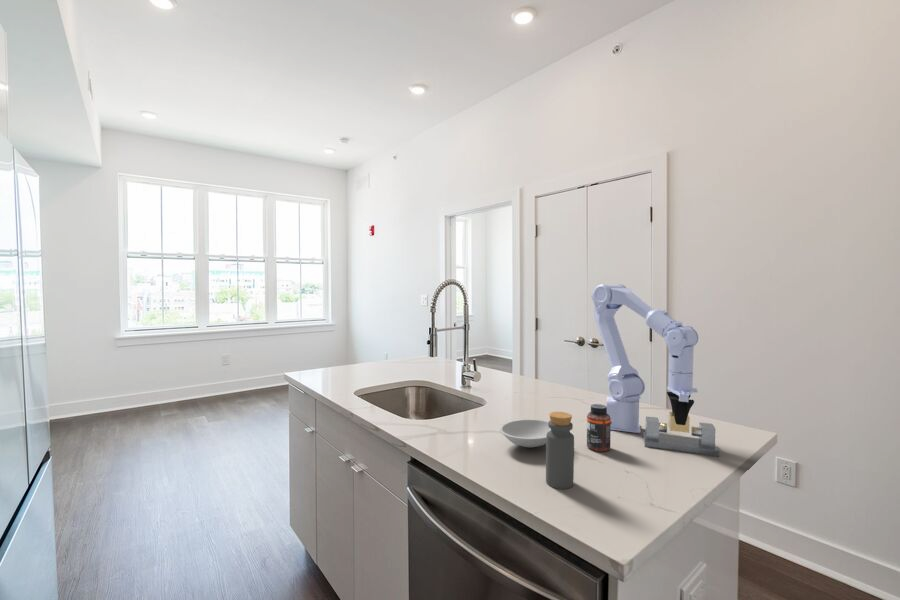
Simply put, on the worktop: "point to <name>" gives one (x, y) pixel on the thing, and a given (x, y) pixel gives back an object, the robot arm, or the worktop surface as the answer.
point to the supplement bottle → (598, 428)
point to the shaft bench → (681, 438)
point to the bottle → (560, 451)
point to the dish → (526, 432)
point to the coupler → (676, 427)
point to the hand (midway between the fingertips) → (679, 421)
